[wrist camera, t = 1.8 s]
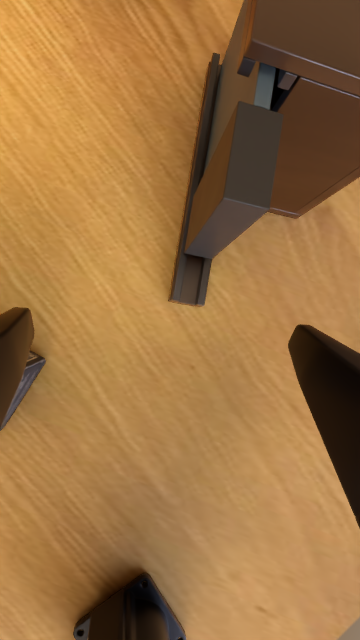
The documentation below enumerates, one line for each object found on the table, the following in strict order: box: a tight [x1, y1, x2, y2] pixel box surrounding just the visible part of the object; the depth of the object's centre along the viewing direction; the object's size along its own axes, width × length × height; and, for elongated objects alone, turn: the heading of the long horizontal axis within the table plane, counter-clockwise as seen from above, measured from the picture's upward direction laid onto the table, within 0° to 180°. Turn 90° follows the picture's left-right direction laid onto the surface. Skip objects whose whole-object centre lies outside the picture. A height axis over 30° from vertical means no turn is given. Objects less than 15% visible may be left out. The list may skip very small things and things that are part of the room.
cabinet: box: [168, 0, 360, 307], centre depth 18 cm, size 20×10×13 cm, turn 171°
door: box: [184, 0, 283, 259], centre depth 18 cm, size 16×2×10 cm, turn 171°
